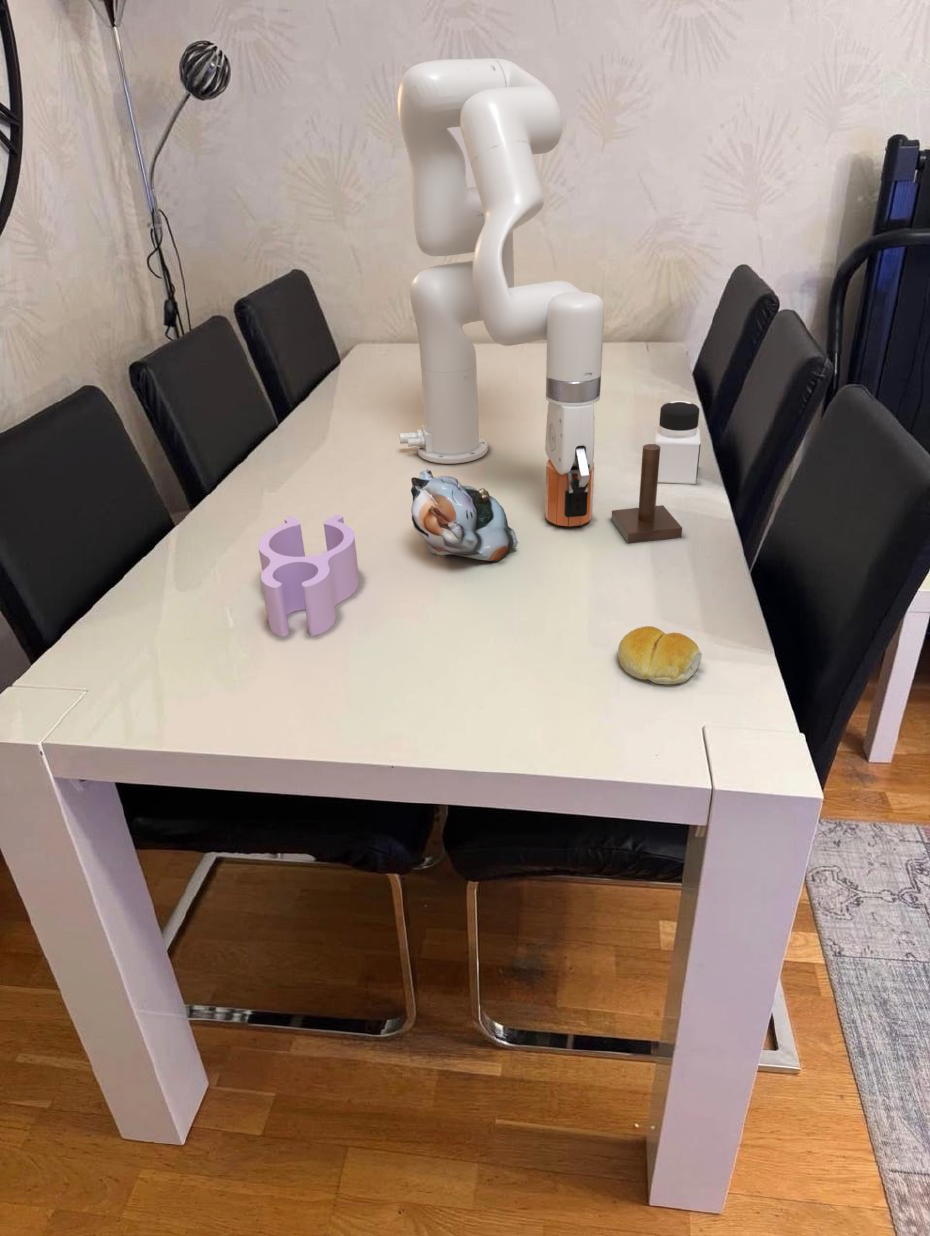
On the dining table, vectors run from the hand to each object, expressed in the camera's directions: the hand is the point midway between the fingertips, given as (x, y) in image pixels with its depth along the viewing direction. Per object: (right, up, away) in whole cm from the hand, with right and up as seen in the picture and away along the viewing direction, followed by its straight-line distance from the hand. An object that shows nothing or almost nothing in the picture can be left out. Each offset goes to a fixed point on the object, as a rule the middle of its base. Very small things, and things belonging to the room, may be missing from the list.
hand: (568, 503), depth 134 cm
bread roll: (+7, -22, -32) cm, 40 cm away
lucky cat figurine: (-15, -8, -6) cm, 18 cm away
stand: (+11, -4, -2) cm, 12 cm away
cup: (0, -2, +1) cm, 2 cm away
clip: (-36, -14, -15) cm, 42 cm away
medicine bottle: (+19, +6, +14) cm, 25 cm away
